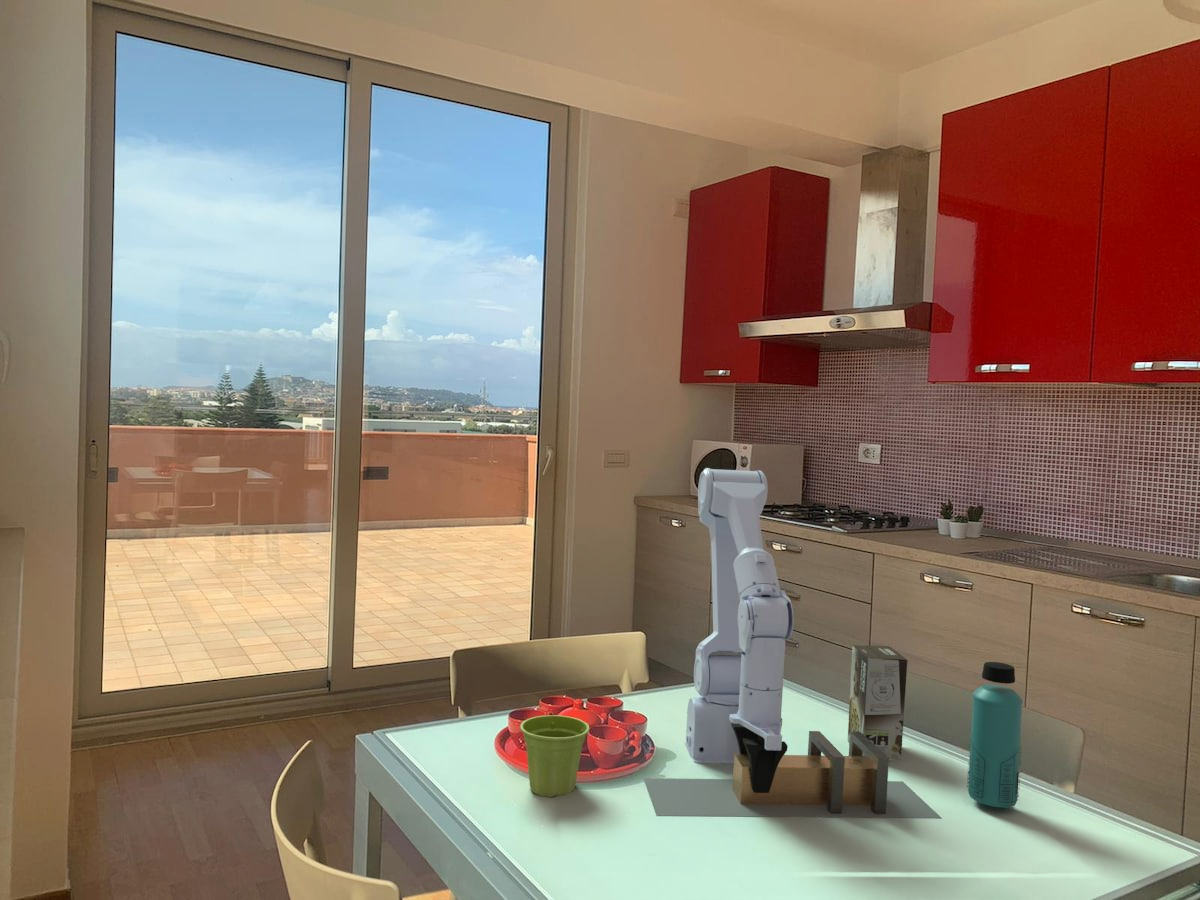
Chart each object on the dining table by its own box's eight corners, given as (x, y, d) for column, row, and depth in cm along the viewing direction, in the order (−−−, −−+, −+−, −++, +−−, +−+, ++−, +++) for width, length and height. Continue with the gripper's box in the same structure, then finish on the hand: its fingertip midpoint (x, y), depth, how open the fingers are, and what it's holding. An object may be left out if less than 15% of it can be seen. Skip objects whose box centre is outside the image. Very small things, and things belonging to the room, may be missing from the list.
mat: (656, 818, 114) (656, 815, 114) (643, 780, 126) (643, 778, 126) (941, 821, 117) (942, 818, 117) (902, 784, 129) (902, 781, 129)
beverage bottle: (1023, 822, 118) (1032, 672, 118) (970, 815, 120) (979, 667, 119) (1010, 802, 125) (1020, 660, 124) (960, 796, 126) (969, 655, 125)
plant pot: (503, 792, 119) (506, 728, 119) (540, 770, 128) (543, 710, 127) (564, 809, 115) (567, 743, 115) (598, 785, 123) (601, 723, 123)
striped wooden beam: (740, 803, 118) (742, 766, 118) (732, 789, 123) (734, 753, 123) (885, 805, 120) (887, 768, 120) (872, 791, 125) (874, 756, 125)
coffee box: (902, 763, 138) (909, 659, 137) (861, 761, 138) (867, 657, 137) (885, 742, 147) (891, 645, 146) (845, 740, 147) (851, 643, 146)
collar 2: (874, 814, 117) (878, 757, 117) (846, 783, 127) (850, 731, 127) (885, 814, 118) (889, 757, 117) (857, 783, 127) (860, 731, 127)
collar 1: (830, 813, 117) (833, 757, 117) (806, 783, 127) (809, 730, 127) (841, 813, 117) (844, 757, 117) (816, 783, 127) (819, 731, 127)
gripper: (720, 669, 127) (715, 762, 128) (745, 700, 113) (739, 806, 113) (768, 670, 128) (763, 763, 128) (800, 702, 114) (794, 807, 114)
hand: (755, 783), depth 121 cm, fingers closed on striped wooden beam, 4 cm apart
